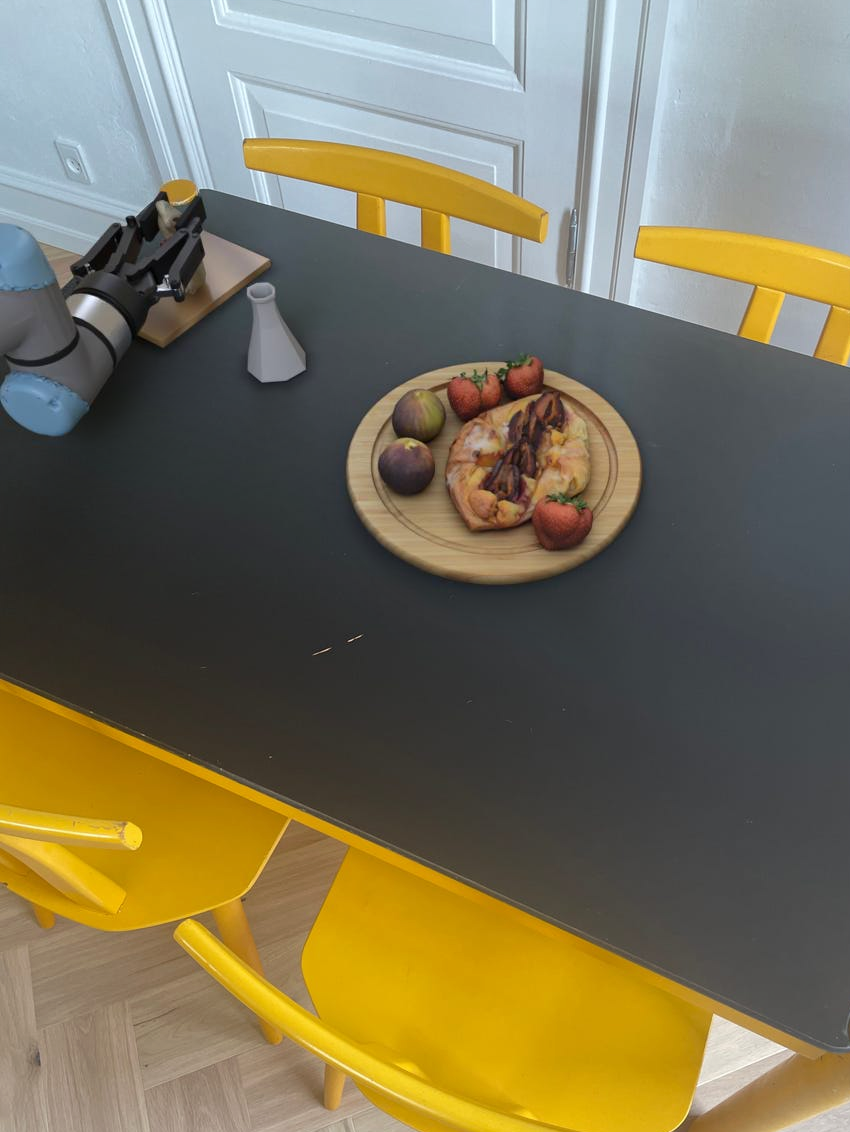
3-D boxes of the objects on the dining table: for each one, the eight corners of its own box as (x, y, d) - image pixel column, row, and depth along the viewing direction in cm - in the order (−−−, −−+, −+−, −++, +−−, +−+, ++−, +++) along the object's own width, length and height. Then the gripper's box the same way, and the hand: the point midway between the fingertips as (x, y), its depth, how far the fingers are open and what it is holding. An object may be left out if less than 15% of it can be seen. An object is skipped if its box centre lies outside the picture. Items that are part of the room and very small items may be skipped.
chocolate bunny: (219, 259, 114) (197, 182, 106) (198, 295, 110) (173, 218, 101) (178, 255, 115) (153, 178, 106) (155, 292, 110) (128, 215, 102)
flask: (315, 373, 106) (302, 300, 97) (257, 391, 104) (238, 318, 95) (296, 338, 109) (281, 264, 101) (239, 354, 107) (219, 280, 99)
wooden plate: (687, 552, 91) (705, 497, 84) (383, 622, 86) (376, 569, 79) (581, 355, 108) (589, 295, 101) (322, 403, 103) (311, 344, 96)
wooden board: (163, 348, 108) (160, 341, 107) (93, 313, 111) (90, 306, 111) (271, 266, 117) (269, 259, 116) (203, 236, 121) (201, 229, 120)
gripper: (43, 338, 102) (130, 223, 114) (182, 359, 100) (254, 241, 112) (15, 280, 95) (110, 165, 108) (162, 301, 93) (242, 183, 106)
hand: (183, 204), depth 110 cm, fingers closed on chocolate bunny, 4 cm apart
